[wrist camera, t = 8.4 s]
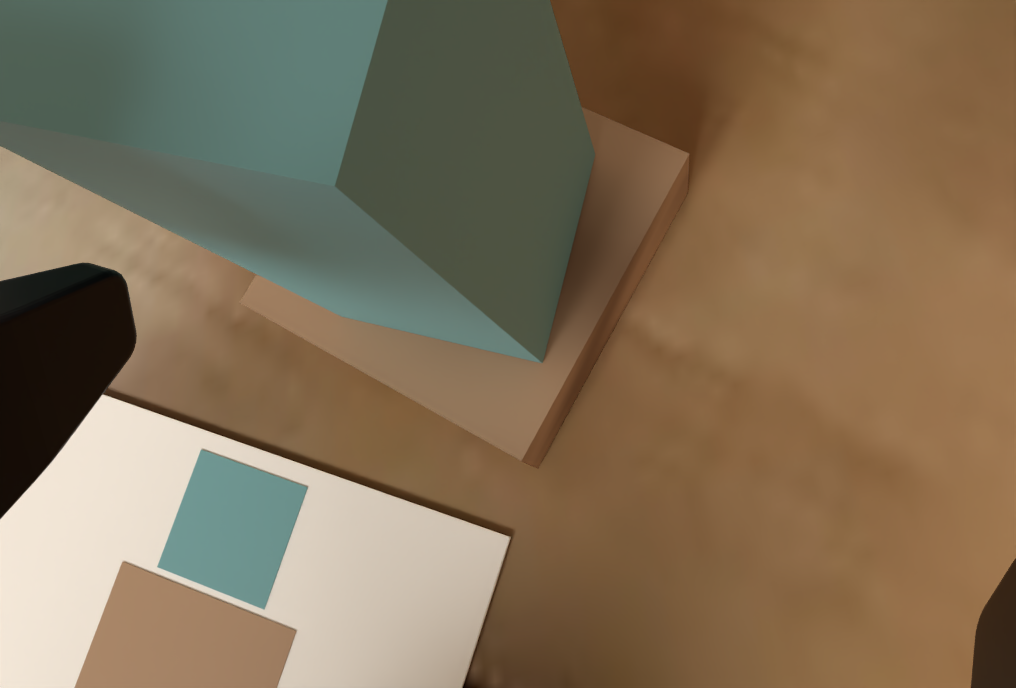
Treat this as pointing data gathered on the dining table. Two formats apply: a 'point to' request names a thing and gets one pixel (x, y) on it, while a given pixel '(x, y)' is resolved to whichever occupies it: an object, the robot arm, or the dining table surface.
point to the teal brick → (325, 145)
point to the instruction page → (229, 570)
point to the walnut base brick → (577, 322)
